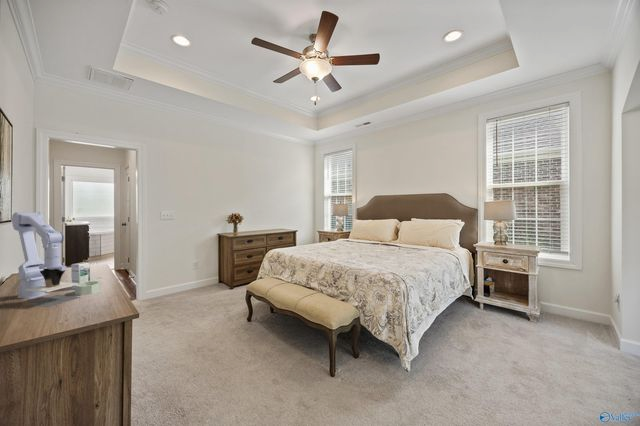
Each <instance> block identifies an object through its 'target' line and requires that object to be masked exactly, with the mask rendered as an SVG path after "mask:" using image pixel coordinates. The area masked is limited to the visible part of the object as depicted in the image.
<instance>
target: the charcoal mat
mask: <svg viewBox="0 0 640 426" xmlns="http://www.w3.org/2000/svg"><path fill="white" fill-rule="evenodd" d="M80 298H81V296H77V295H63V294H55V295H50V296H48V297H43V298H40V299H36V300H32V301H29V302H26V303H23V305H24V306H34V307H43V308H50V307H53V306H57V305H61V304H63V303H66V302H69V301H73V300H77V299H80Z"/></svg>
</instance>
